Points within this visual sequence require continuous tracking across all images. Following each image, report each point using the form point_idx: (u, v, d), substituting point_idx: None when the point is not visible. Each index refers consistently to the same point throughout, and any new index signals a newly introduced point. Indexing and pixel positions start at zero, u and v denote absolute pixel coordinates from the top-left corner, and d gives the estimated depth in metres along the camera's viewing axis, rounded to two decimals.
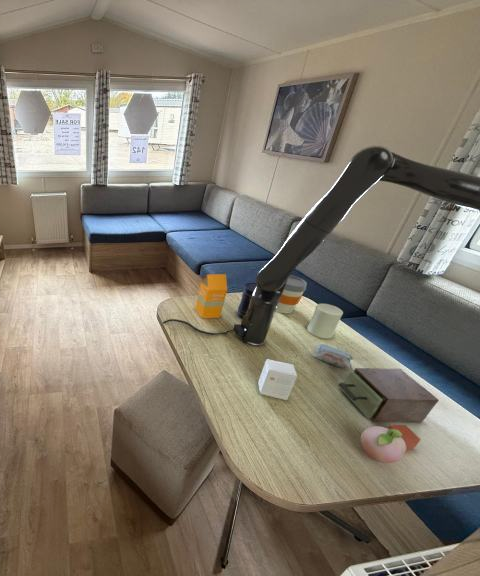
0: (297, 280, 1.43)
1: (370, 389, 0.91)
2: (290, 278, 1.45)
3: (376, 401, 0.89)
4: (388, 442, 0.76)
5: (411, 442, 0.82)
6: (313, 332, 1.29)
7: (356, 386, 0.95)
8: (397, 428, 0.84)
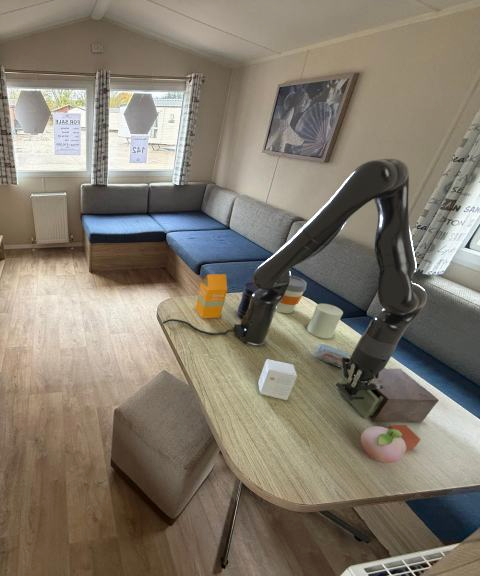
0: (297, 280, 1.43)
1: None
2: (290, 278, 1.45)
3: (373, 401, 0.89)
4: (388, 442, 0.76)
5: (411, 442, 0.82)
6: (313, 332, 1.29)
7: None
8: (397, 428, 0.84)
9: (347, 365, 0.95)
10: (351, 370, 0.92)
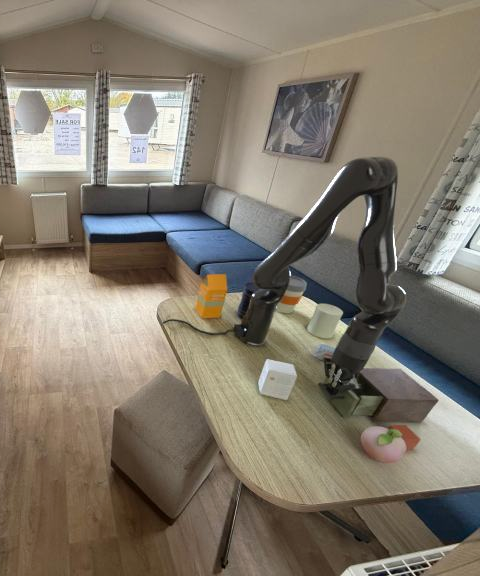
0: (297, 280, 1.43)
1: None
2: (290, 278, 1.45)
3: (353, 401, 0.89)
4: (388, 442, 0.76)
5: (411, 442, 0.82)
6: (313, 332, 1.29)
7: None
8: (397, 428, 0.84)
9: (328, 365, 0.95)
10: (332, 370, 0.92)
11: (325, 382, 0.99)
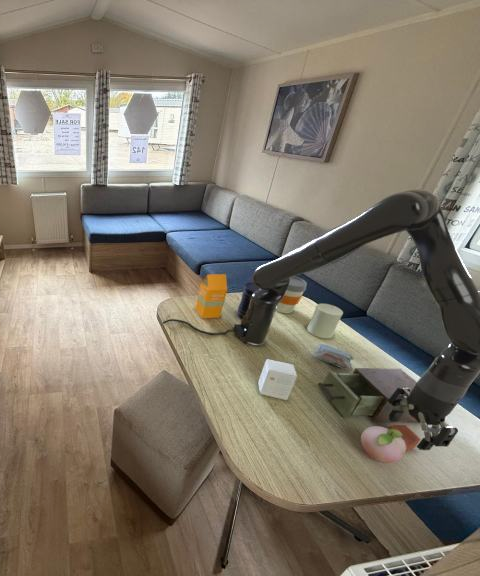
0: (297, 280, 1.43)
1: (347, 389, 0.91)
2: (290, 278, 1.45)
3: (353, 401, 0.89)
4: (388, 442, 0.76)
5: (411, 442, 0.82)
6: (313, 332, 1.29)
7: (334, 386, 0.95)
8: (397, 428, 0.84)
9: (399, 396, 0.85)
10: (405, 406, 0.82)
11: (325, 382, 0.99)
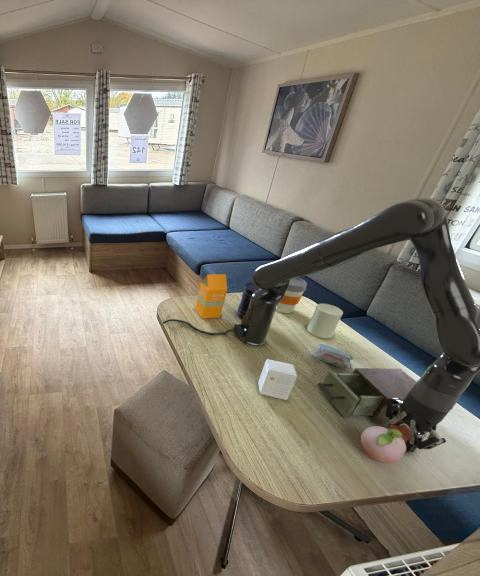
0: (297, 280, 1.43)
1: (347, 389, 0.91)
2: None
3: (353, 401, 0.89)
4: (388, 442, 0.76)
5: None
6: (313, 332, 1.29)
7: (334, 386, 0.95)
8: (397, 428, 0.84)
9: (393, 407, 0.86)
10: (399, 416, 0.83)
11: (325, 382, 0.99)
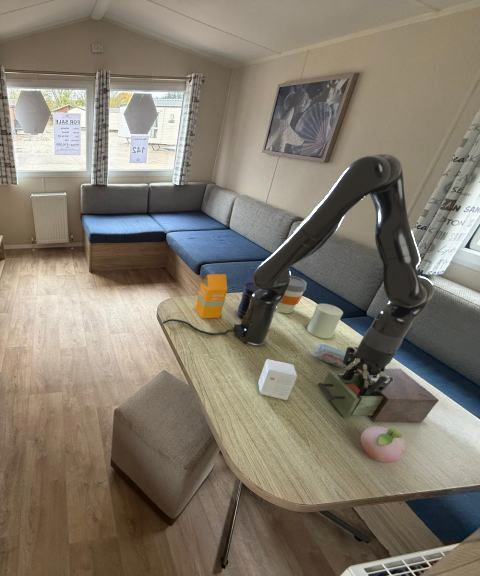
0: (297, 280, 1.43)
1: (347, 389, 0.91)
2: (290, 278, 1.45)
3: (353, 401, 0.89)
4: (388, 442, 0.76)
5: None
6: (313, 332, 1.29)
7: (334, 386, 0.95)
8: None
9: (350, 355, 0.94)
10: (354, 362, 0.91)
11: (325, 382, 0.99)
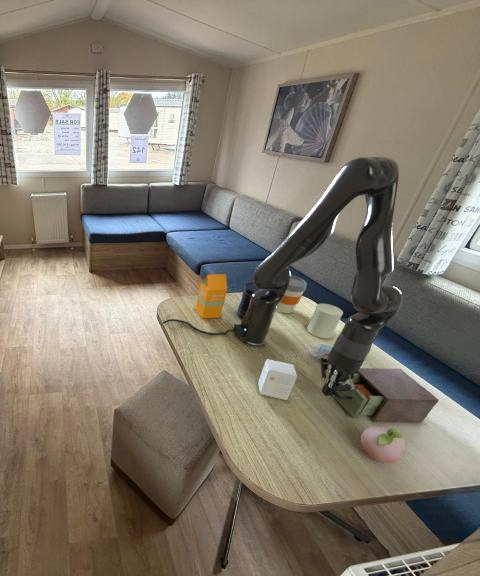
0: (297, 280, 1.43)
1: None
2: (290, 278, 1.45)
3: (361, 401, 0.89)
4: (388, 442, 0.76)
5: None
6: (313, 332, 1.29)
7: None
8: None
9: (325, 365, 0.94)
10: (328, 370, 0.92)
11: None
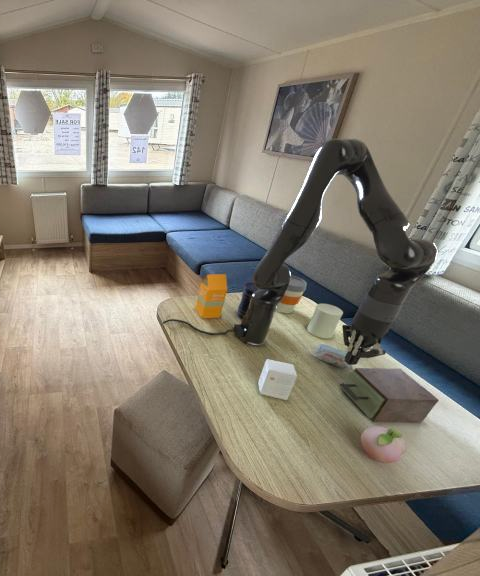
0: (297, 280, 1.43)
1: (372, 389, 0.91)
2: (290, 278, 1.45)
3: (378, 401, 0.89)
4: (388, 442, 0.76)
5: None
6: (313, 332, 1.29)
7: (358, 386, 0.95)
8: None
9: (348, 333, 0.89)
10: (352, 337, 0.86)
11: (347, 382, 0.99)
